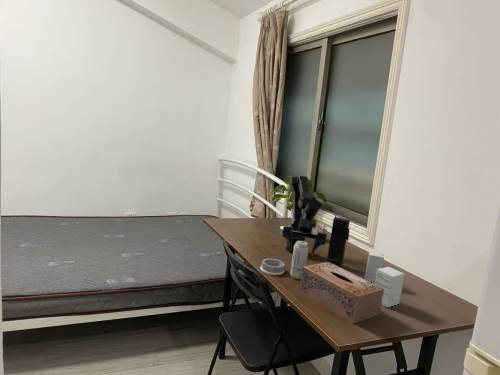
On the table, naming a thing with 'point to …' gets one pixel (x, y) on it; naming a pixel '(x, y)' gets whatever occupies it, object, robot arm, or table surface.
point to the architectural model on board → (319, 229)
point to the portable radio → (338, 241)
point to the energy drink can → (299, 259)
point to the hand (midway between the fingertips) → (300, 252)
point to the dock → (272, 266)
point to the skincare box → (373, 266)
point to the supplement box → (390, 285)
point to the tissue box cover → (341, 291)
